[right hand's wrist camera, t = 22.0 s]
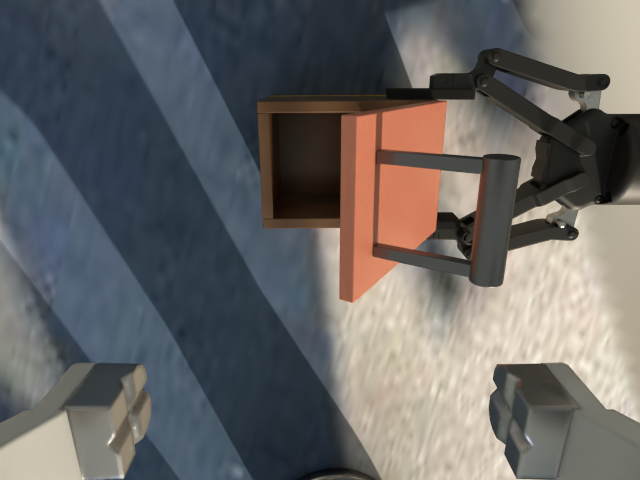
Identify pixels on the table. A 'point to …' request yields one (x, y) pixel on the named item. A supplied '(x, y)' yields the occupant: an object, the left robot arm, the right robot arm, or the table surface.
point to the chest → (306, 155)
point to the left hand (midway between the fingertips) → (385, 160)
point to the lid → (414, 198)
